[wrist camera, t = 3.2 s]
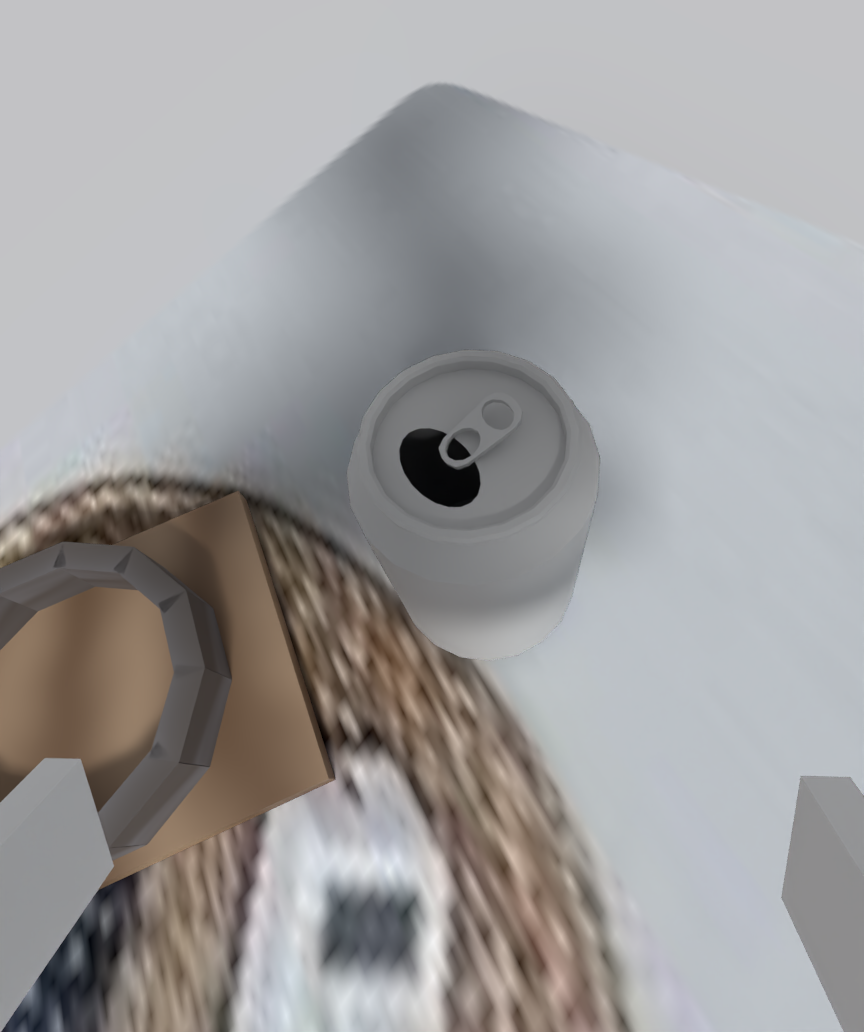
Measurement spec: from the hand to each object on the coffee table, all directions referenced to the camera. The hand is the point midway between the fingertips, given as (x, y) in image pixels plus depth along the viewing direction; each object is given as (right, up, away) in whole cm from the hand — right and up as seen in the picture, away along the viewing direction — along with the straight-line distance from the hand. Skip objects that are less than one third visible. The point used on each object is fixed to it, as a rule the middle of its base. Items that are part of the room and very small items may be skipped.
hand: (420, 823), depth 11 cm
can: (+3, +3, +16) cm, 17 cm away
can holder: (-15, -3, +16) cm, 22 cm away
